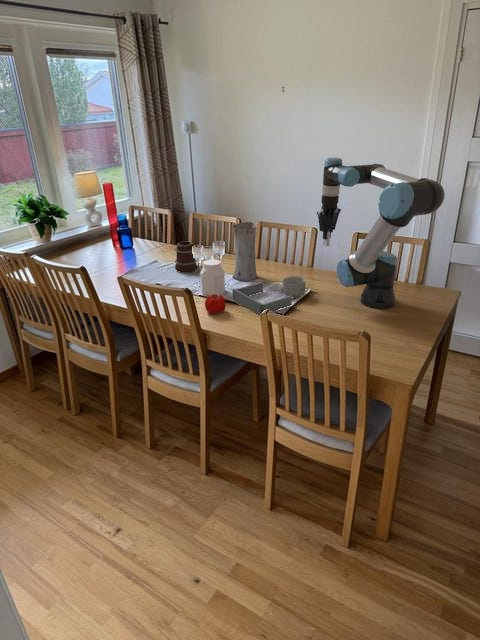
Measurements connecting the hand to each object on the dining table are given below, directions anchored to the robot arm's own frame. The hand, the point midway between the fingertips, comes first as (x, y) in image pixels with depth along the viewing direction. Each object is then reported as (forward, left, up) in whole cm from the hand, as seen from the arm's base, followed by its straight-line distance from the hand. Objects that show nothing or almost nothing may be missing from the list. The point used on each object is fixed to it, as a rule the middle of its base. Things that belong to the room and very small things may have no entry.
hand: (326, 245), depth 208 cm
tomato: (+7, +58, -22) cm, 62 cm away
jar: (+28, +46, -22) cm, 58 cm away
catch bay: (+3, +36, -21) cm, 42 cm away
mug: (+66, +39, -22) cm, 80 cm away
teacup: (+2, +17, -22) cm, 28 cm away
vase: (+34, +23, -22) cm, 46 cm away
